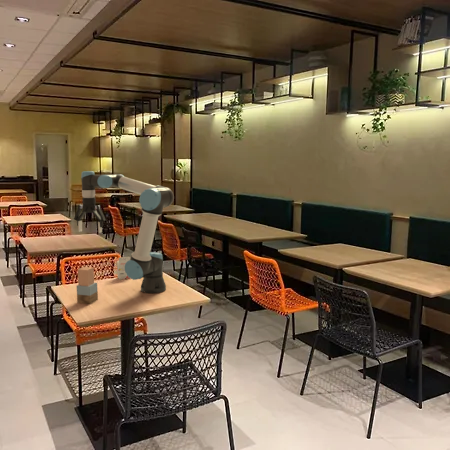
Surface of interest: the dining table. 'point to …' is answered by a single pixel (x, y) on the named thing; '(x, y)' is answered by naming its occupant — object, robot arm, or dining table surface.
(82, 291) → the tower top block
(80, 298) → the tower base block
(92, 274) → the terracotta block
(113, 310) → the dining table surface
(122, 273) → the ink cartridge box
